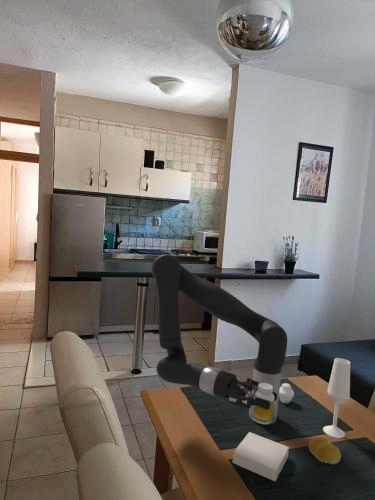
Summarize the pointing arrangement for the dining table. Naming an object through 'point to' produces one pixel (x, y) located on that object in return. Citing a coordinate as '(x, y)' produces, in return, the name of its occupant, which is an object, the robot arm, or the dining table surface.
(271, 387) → the supplement bottle
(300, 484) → the dining table surface
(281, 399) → the white lumpy ovoid
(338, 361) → the champagne flute
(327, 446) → the bread roll
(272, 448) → the stack of napkins
